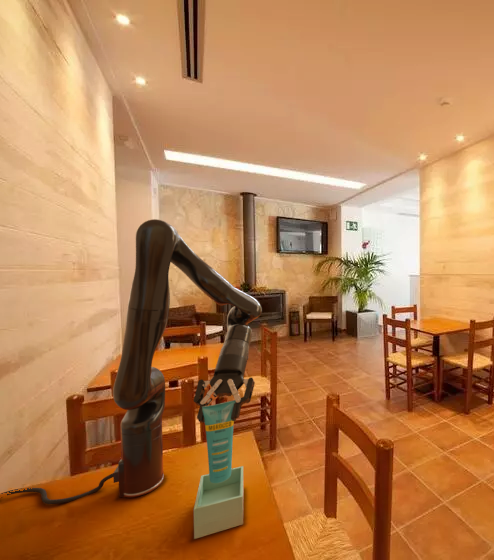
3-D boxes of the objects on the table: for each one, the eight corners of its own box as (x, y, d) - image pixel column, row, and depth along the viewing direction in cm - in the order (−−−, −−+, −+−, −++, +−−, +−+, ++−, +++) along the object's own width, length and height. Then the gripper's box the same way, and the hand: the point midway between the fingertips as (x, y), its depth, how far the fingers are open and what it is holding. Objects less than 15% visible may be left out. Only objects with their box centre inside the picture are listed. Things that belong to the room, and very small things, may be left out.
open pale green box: (194, 539, 69) (193, 509, 68) (201, 501, 80) (201, 475, 80) (243, 524, 73) (242, 496, 73) (243, 490, 84) (243, 465, 84)
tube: (204, 488, 72) (202, 410, 71) (203, 477, 76) (201, 402, 75) (238, 476, 76) (236, 402, 75) (235, 466, 80) (234, 395, 79)
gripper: (201, 353, 81) (179, 417, 70) (256, 351, 83) (244, 414, 72) (210, 366, 87) (191, 427, 76) (262, 364, 89) (251, 424, 78)
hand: (217, 420), depth 74 cm, fingers closed on tube, 7 cm apart
